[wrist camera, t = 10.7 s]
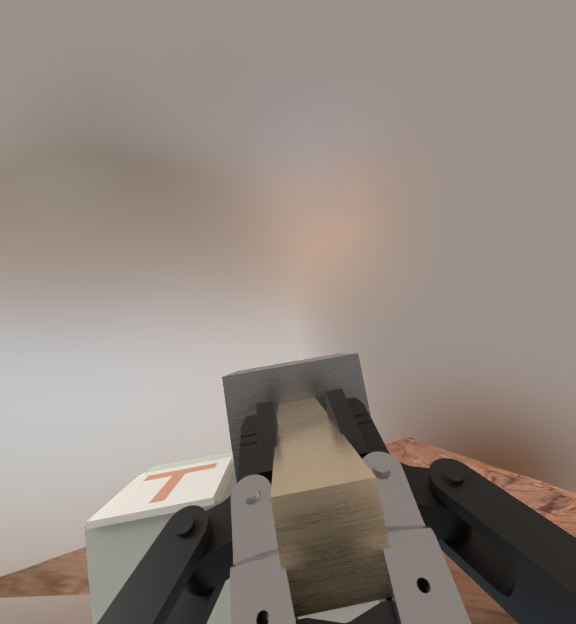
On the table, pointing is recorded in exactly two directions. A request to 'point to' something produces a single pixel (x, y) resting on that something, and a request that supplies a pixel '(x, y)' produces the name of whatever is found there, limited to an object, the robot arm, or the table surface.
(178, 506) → the stepped stand
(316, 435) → the mallet
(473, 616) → the table surface
